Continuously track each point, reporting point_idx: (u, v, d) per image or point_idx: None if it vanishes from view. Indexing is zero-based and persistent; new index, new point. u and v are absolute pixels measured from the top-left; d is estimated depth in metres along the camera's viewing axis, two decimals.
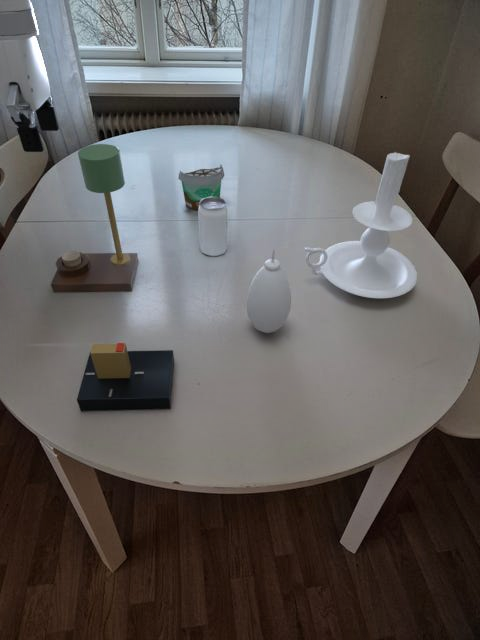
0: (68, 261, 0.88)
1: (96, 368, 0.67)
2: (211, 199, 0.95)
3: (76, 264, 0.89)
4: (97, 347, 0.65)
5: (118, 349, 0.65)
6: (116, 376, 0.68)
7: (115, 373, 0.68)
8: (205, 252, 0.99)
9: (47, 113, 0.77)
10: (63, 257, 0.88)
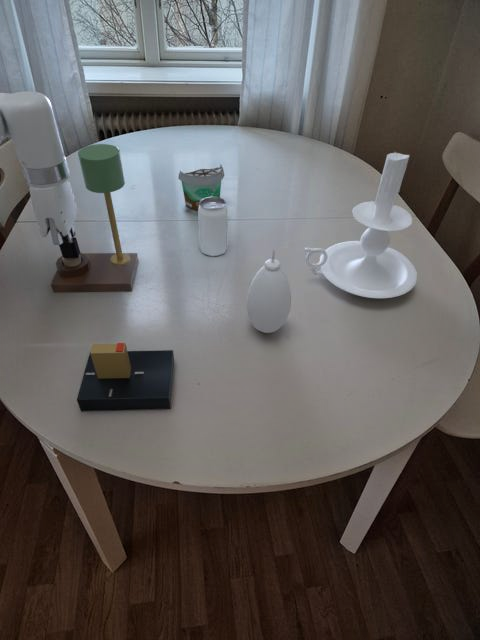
0: (68, 261, 0.88)
1: (96, 368, 0.67)
2: (211, 199, 0.95)
3: (76, 264, 0.89)
4: (97, 347, 0.65)
5: (118, 349, 0.65)
6: (116, 376, 0.68)
7: (115, 373, 0.68)
8: (205, 252, 0.99)
9: (70, 243, 0.87)
10: None
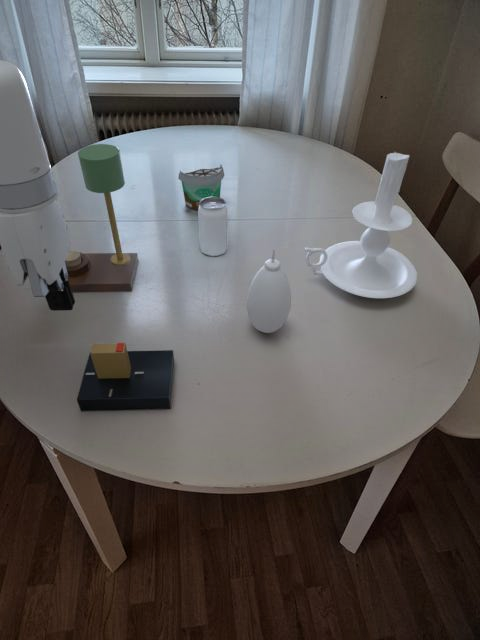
0: (68, 261, 0.88)
1: (96, 368, 0.67)
2: (211, 199, 0.95)
3: (76, 264, 0.89)
4: (97, 347, 0.65)
5: (118, 349, 0.65)
6: (116, 376, 0.68)
7: (115, 373, 0.68)
8: (205, 252, 0.99)
9: None
10: None
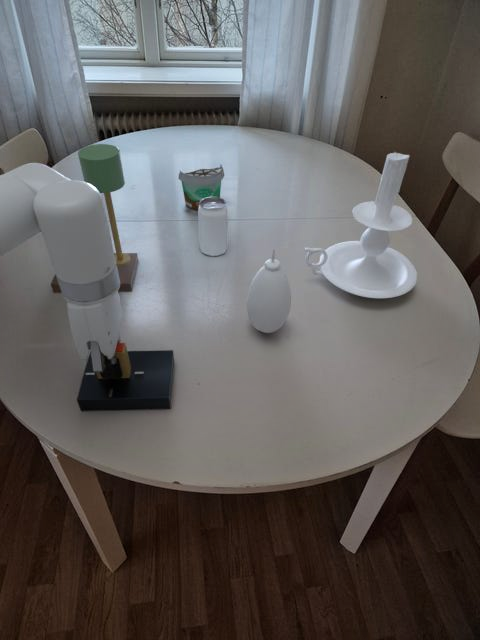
0: None
1: None
2: (211, 199, 0.95)
3: None
4: None
5: (118, 349, 0.65)
6: None
7: None
8: (205, 252, 0.99)
9: None
10: None
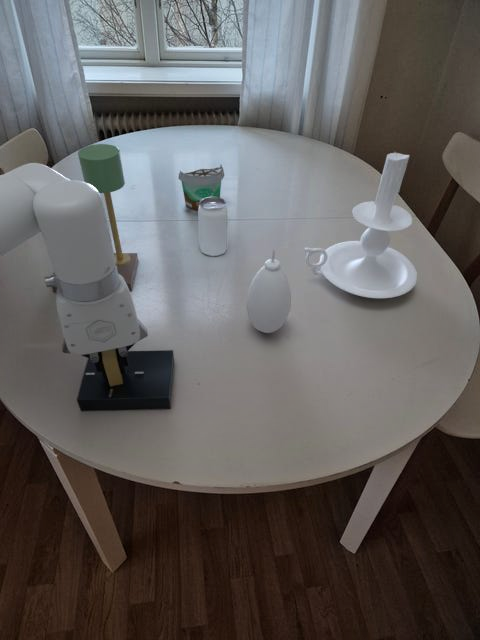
0: None
1: (120, 372, 0.66)
2: (211, 199, 0.95)
3: None
4: (107, 356, 0.64)
5: None
6: None
7: None
8: (205, 252, 0.99)
9: None
10: None
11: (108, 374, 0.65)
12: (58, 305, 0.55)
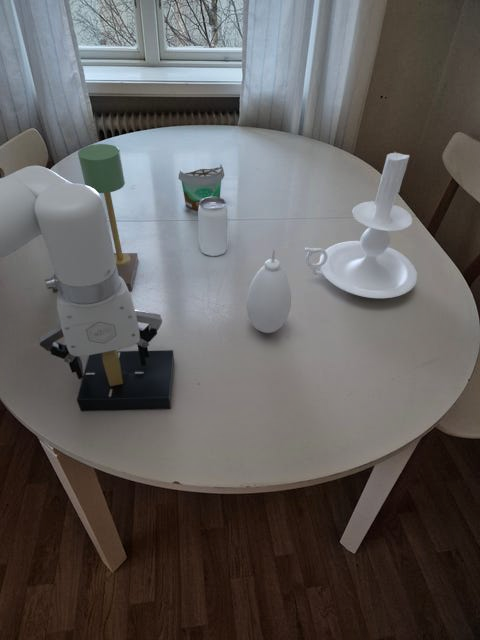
0: None
1: (120, 372, 0.66)
2: (211, 199, 0.95)
3: None
4: (107, 356, 0.64)
5: None
6: (120, 368, 0.70)
7: (119, 365, 0.69)
8: (205, 252, 0.99)
9: (78, 356, 0.65)
10: None
11: (108, 374, 0.65)
12: (59, 307, 0.56)
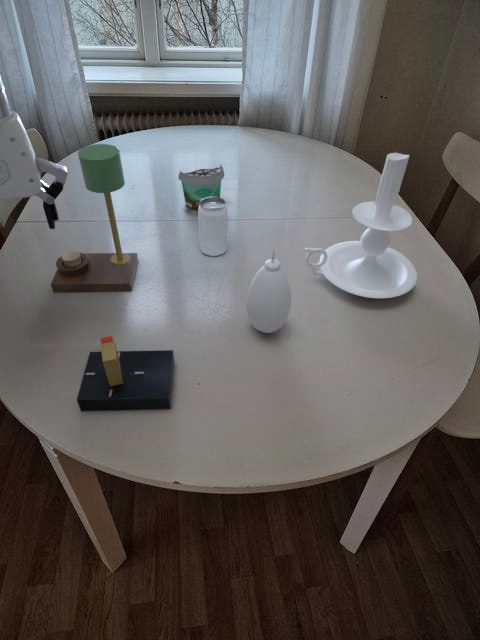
0: (68, 261, 0.88)
1: (120, 372, 0.66)
2: (211, 199, 0.95)
3: (76, 264, 0.89)
4: (107, 356, 0.64)
5: (110, 338, 0.66)
6: (120, 368, 0.70)
7: (119, 365, 0.69)
8: (205, 252, 0.99)
9: None
10: (63, 257, 0.88)
11: (108, 374, 0.65)
12: None
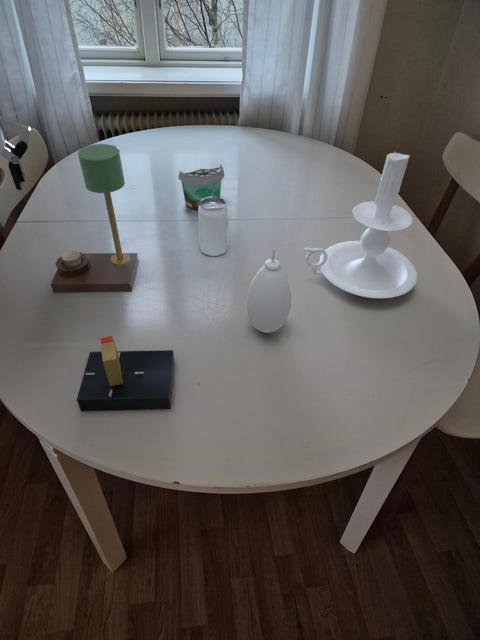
0: (68, 261, 0.88)
1: (120, 372, 0.66)
2: (211, 199, 0.95)
3: (76, 264, 0.89)
4: (107, 356, 0.64)
5: (110, 338, 0.66)
6: (120, 368, 0.70)
7: (119, 365, 0.69)
8: (205, 252, 0.99)
9: None
10: (63, 257, 0.88)
11: (108, 374, 0.65)
12: None
